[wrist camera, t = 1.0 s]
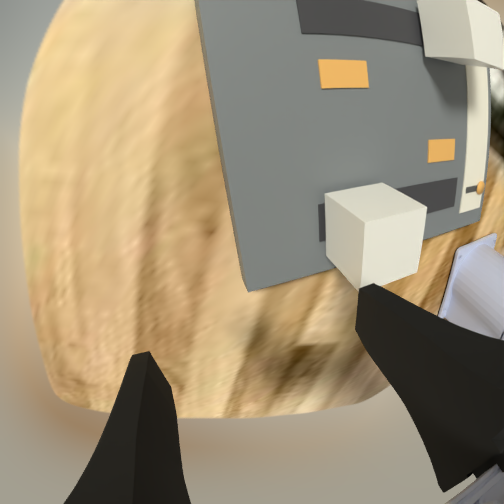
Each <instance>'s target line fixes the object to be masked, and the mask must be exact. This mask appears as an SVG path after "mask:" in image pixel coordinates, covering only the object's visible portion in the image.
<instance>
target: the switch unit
mask: <svg viewBox="0 0 504 504" xmlns="http://www.w3.org/2000/svg"><path fill="white" fill-rule="evenodd" d="M194 1H195V7H196V14H197V20H198V27H199V33H200V39H201V46H202V52H203V58H204V64H205V70H206V76H207V82H208V88H209V94H210V100H211V106H212V112H213V118H214V124H215V130H216V136H217V141H218V147H219V153H220V159H221V164H222V170H223V176H224V181H225V187H226V192H227V198H228V204H229V209H230V215H231V220H232V225H233V231H234V236H235V242H236V247H237V252H238V258H239V263H240V268H241V274H242V279H243V281H244V284H245V286H246V289H247V291H248V292H251V291H255V290H258V289H262V288H266V287H269V286H273V285H277V284H280V283H284V282H287V281H291V280H295V279H298V278H302V277H305V276H309V275H312V274H315V273H319V272H322V271H326V270H329V269H333V268H336V266H335V265H334V264H333V263H332V262H331V260H330V259H329V258H328V257H327V256H326V221H325V193H330V192H335V191H340V190H345V189H350V188H356V187H361V186H366V185H372V184H377V183H384V184H386V185H388V186H390V187H392V188H394V189H396V190H397V191H399V192H401V193H403V194H405V195H407V196H408V197H410V198H412V199H414V200H416V201H417V202H419V203H421V204H423V205H424V206H426V207H427V212H426V220H425V228H424V235H423V240H425V239H428V238H431V237H434V236H437V235H440V234H443V233H446V232H449V231H452V230H455V229H458V228H460V227H463V226H466V225H469V224H472V223H475V222H477V221H479V220H480V215H481V210H482V204H483V198H484V191H485V184H486V177H487V168H488V158H489V145H490V126H491V89H490V70H489V68H487V67H479V66H470V65H461V64H457V63H453V62H449V61H444V60H440V59H435V58H430V57H425V50H424V41H423V34H422V27H421V21H420V15H419V9H418V4H417V0H194Z"/></svg>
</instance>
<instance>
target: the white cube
mask: <svg viewBox="0 0 504 504" xmlns="http://www.w3.org/2000/svg"><path fill="white" fill-rule="evenodd" d="M426 212H427V207H426V206H424V205H423V204H421V203H419V202H417V201H416V200H414V199H412V198H410V197H408V196H407V195H405V194H403V193H401V192H399V191H397V190H396V189H394V188H392V187H390V186H388V185H386V184H384V183H377V184H372V185H366V186H361V187H356V188H350V189H345V190H340V191H335V192H330V193H325V221H326V256H327V257H328V258H329V259H330V260H331V262H332V263H333V264H334V265H335V266H336V267H337V268H338V269H339V270H340V272H341V273H342V274H343V275H344V276H345V277H346V278H347V280H348V281H349V282H350V283H351V284H352V285H353V286H354V287H355V289H356V290H357V291H358V292H359V288H361V287H364V286H367V285H369V284H372V283H375V284H377V285H379V286H382V285H385V284H387V283H390V282H393V281H395V280H398V279H401V278H403V277H406V276H408V275H411V274H414V273H416V272H417V270H418V264H419V259H420V253H421V247H422V241H423V235H424V228H425V220H426Z"/></svg>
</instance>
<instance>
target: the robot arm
mask: <svg viewBox="0 0 504 504" xmlns="http://www.w3.org/2000/svg"><path fill="white" fill-rule="evenodd" d="M496 238H497V234H496V233H492V234H490V235H488V236H485V237H483V238H481V239H478V240H476V241H474V242H471V243H469V244H466V245H464V246H462V247H459V248H458V249H457V250H456V253H455V258H454V262H453V266H452V270H451V274H450V277H449V281H448V285H447V288H446V292H445V295H444V298H443V302H442V305H441V308H440V311H439V314H438V316H436V315H434V314H432V313H430V312H428V311H426V310H424V309H422V308H420V307H418V306H416V305H414V304H413V303H411V302H409V301H407V300H405V299H403V298H401V297H400V296H398V295H396V294H394V293H392V292H390V291H388V290H386V289H385V288H383V287H381V286H379V285H377V284H375V283H372V284H369V285H367V286H364V287H361V288H359V294H358V306H357V317H356V326H355V330H356V332H357V334H358V336H359V338H360V340H361V341H362V343H363V345H364V347H365V349H366V350H367V352H368V354H369V355H370V356H371V358H372V359H373V361H374V362H375V363H376V365H377V366H378V367H379V369H380V370H381V372H382V373H383V374H384V376H385V377H386V378H387V380H388V381H389V383H390V384H391V385H392V387H393V388H394V389H395V391H396V392H397V394H398V395H399V397H400V398H401V400H402V401H403V403H404V404H405V406H406V408H407V410H408V412H409V414H410V415H411V417H412V419H413V421H414V423H415V425H416V427H417V429H418V432H419V434H420V436H421V438H422V440H423V442H424V445H425V447H426V450H427V452H428V455H429V457H430V459H431V462H432V465H433V468H434V471H435V474H436V478H437V481H438V485H439V486H440V488H441V490H442V491H443V492H446V491H448V490H449V489H451V488H453V487H454V486H456V485H457V484H459V483H461V482H462V481H464V480H465V479H466V478H468V477H469V476H471V475H472V474H474V475H475V477H476V478H477V479H476V480H475V481H474V482H473V483H471V484H470V485H469V486H468V487H466V488H465V489H464V490H463V491H462V492H460V493H459V494H457V495H456V496H455V497H453V498H452V499H451V500H449V501H448V502H447V503H445V504H504V256H502V255H501V254H500V253H498V252H497V251H495V250H494V246H495V242H496ZM444 317H445V318H446V319H447V320H448V321H447V320H445V319H443V318H444ZM179 445H180V444H179V434H178V424H177V414H176V409H175V404H174V399H173V394H172V389H171V386H170V384H169V383H168V381H167V380H166V378H165V376H164V375H163V373H162V372H161V370H160V368H159V367H158V365H157V363H156V362H155V360H154V358H153V357H152V355H151V353H150V351H148V352H144V353H139V354H135V355H132V357H131V359H130V361H129V364H128V367H127V370H126V373H125V376H124V378H123V381H122V384H121V387H120V390H119V392H118V395H117V398H116V400H115V403H114V406H113V408H112V411H111V414H110V416H109V419H108V421H107V424H106V426H105V428H104V431H103V433H102V436H101V438H100V440H99V442H98V445H97V447H96V449H95V451H94V453H93V455H92V457H91V459H90V461H89V463H88V465H87V467H86V468H85V470H84V472H83V474H82V476H81V477H80V479H79V481H78V483H77V484H76V486H75V488H74V489H73V491H72V492H71V494H70V495H69V497H68V498H67V499H66V501H65V502H64V504H191V502H190V499H189V495H188V492H187V488H186V484H185V480H184V475H183V469H182V461H181V453H180V446H179Z"/></svg>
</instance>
